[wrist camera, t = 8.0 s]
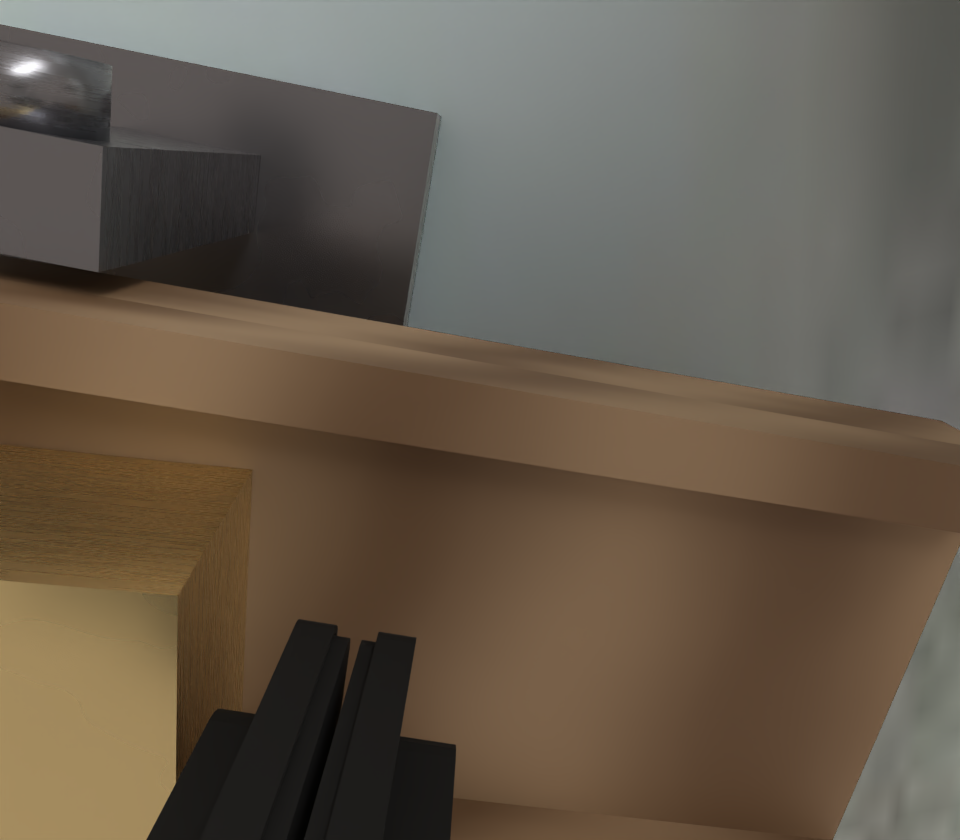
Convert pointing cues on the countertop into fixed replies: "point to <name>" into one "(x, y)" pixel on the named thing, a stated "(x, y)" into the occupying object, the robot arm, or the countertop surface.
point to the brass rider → (113, 633)
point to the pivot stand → (210, 178)
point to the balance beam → (532, 544)
